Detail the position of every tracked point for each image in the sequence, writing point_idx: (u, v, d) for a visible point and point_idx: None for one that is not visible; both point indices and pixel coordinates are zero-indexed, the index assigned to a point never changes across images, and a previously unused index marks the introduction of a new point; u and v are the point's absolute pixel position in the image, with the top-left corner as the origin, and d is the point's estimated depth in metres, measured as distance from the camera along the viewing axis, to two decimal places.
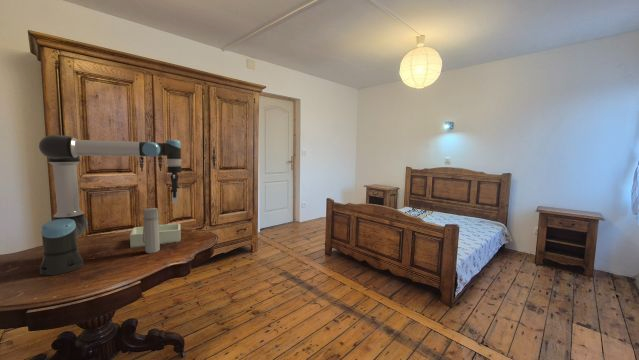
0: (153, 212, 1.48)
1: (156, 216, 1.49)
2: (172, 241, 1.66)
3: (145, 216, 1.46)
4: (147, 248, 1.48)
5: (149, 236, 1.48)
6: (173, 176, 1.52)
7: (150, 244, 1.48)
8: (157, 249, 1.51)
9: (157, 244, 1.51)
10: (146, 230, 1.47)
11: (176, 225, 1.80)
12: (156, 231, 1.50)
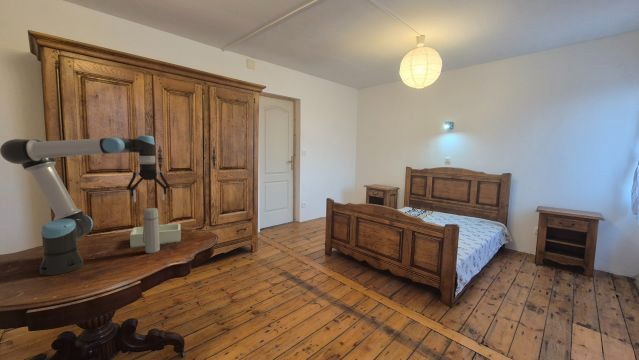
0: (153, 212, 1.48)
1: (156, 216, 1.49)
2: (172, 241, 1.66)
3: (145, 216, 1.46)
4: (147, 248, 1.48)
5: (149, 236, 1.48)
6: (133, 173, 1.44)
7: (150, 244, 1.48)
8: (157, 249, 1.51)
9: (157, 244, 1.51)
10: (146, 230, 1.47)
11: (176, 225, 1.80)
12: (156, 231, 1.50)
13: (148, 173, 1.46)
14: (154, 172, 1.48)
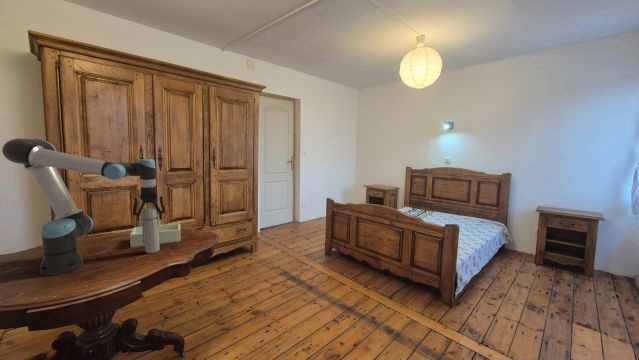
0: (152, 212, 1.47)
1: (155, 216, 1.49)
2: (172, 241, 1.66)
3: (144, 216, 1.46)
4: (147, 248, 1.48)
5: (149, 236, 1.47)
6: None
7: (150, 244, 1.48)
8: (157, 249, 1.51)
9: (157, 244, 1.51)
10: (145, 230, 1.47)
11: (176, 225, 1.80)
12: (155, 231, 1.50)
13: (149, 195, 1.48)
14: (155, 195, 1.49)
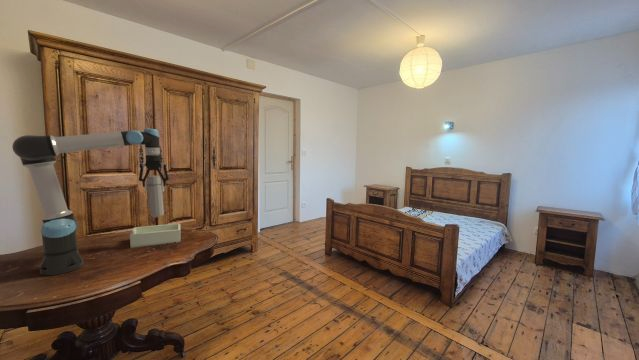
0: (156, 178, 1.58)
1: (159, 182, 1.60)
2: (172, 241, 1.66)
3: (149, 182, 1.58)
4: (152, 212, 1.60)
5: (154, 201, 1.59)
6: (140, 166, 1.57)
7: (154, 208, 1.59)
8: (161, 213, 1.62)
9: (161, 209, 1.62)
10: (150, 195, 1.58)
11: (176, 225, 1.80)
12: (160, 196, 1.61)
13: (153, 162, 1.59)
14: (159, 163, 1.60)
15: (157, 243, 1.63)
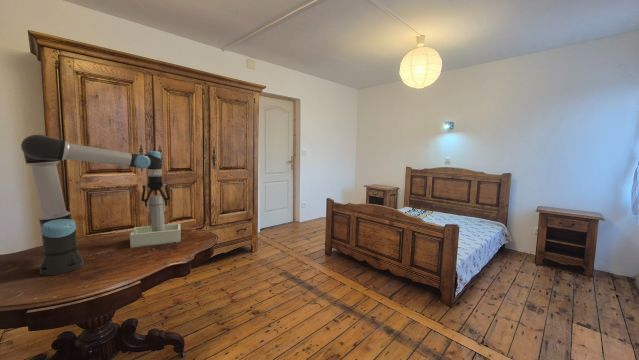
0: (158, 198, 1.64)
1: (161, 202, 1.66)
2: (172, 241, 1.66)
3: (151, 202, 1.63)
4: (154, 231, 1.65)
5: (156, 220, 1.65)
6: (142, 186, 1.63)
7: (156, 227, 1.65)
8: None
9: (163, 227, 1.68)
10: (152, 215, 1.64)
11: (176, 225, 1.80)
12: (161, 216, 1.67)
13: (156, 183, 1.65)
14: (161, 183, 1.66)
15: (157, 243, 1.63)
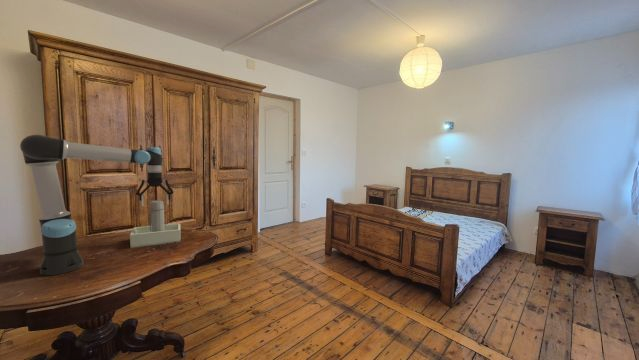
0: (159, 203, 1.65)
1: (162, 207, 1.66)
2: (172, 241, 1.66)
3: (152, 207, 1.64)
4: None
5: (156, 225, 1.65)
6: (142, 181, 1.62)
7: None
8: None
9: None
10: (153, 220, 1.64)
11: (176, 225, 1.80)
12: (162, 221, 1.67)
13: (155, 180, 1.64)
14: (160, 180, 1.66)
15: (157, 243, 1.63)
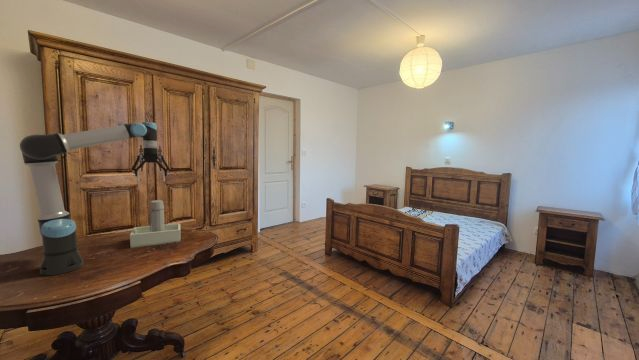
0: (159, 203, 1.65)
1: (162, 207, 1.66)
2: (172, 241, 1.66)
3: (152, 207, 1.64)
4: None
5: (156, 225, 1.65)
6: None
7: None
8: None
9: None
10: (153, 220, 1.64)
11: (176, 225, 1.80)
12: (162, 221, 1.67)
13: (151, 156, 1.63)
14: (156, 155, 1.64)
15: (157, 243, 1.63)
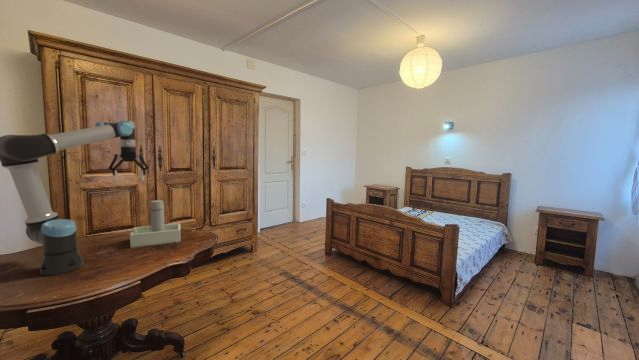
0: (159, 203, 1.65)
1: (162, 207, 1.67)
2: (172, 241, 1.66)
3: (152, 207, 1.64)
4: None
5: (156, 225, 1.65)
6: None
7: None
8: None
9: None
10: (153, 220, 1.65)
11: (176, 225, 1.80)
12: (162, 221, 1.67)
13: (128, 155, 1.62)
14: (134, 154, 1.64)
15: (157, 243, 1.63)
